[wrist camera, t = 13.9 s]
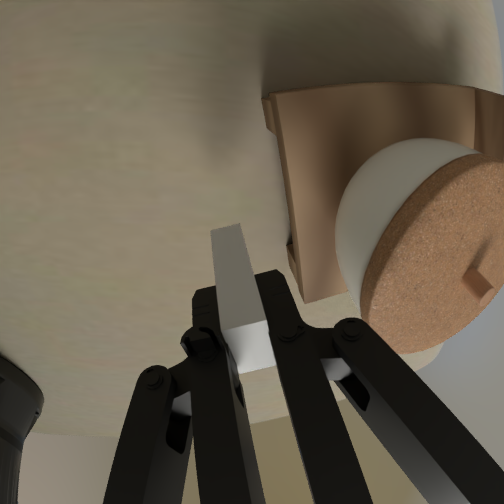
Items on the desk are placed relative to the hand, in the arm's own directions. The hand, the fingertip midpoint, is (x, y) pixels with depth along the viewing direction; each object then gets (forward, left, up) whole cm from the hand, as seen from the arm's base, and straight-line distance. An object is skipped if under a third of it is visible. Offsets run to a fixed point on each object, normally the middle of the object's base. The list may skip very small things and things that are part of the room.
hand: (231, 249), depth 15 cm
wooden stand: (+12, 0, -6) cm, 13 cm away
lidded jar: (+10, 0, -2) cm, 10 cm away
